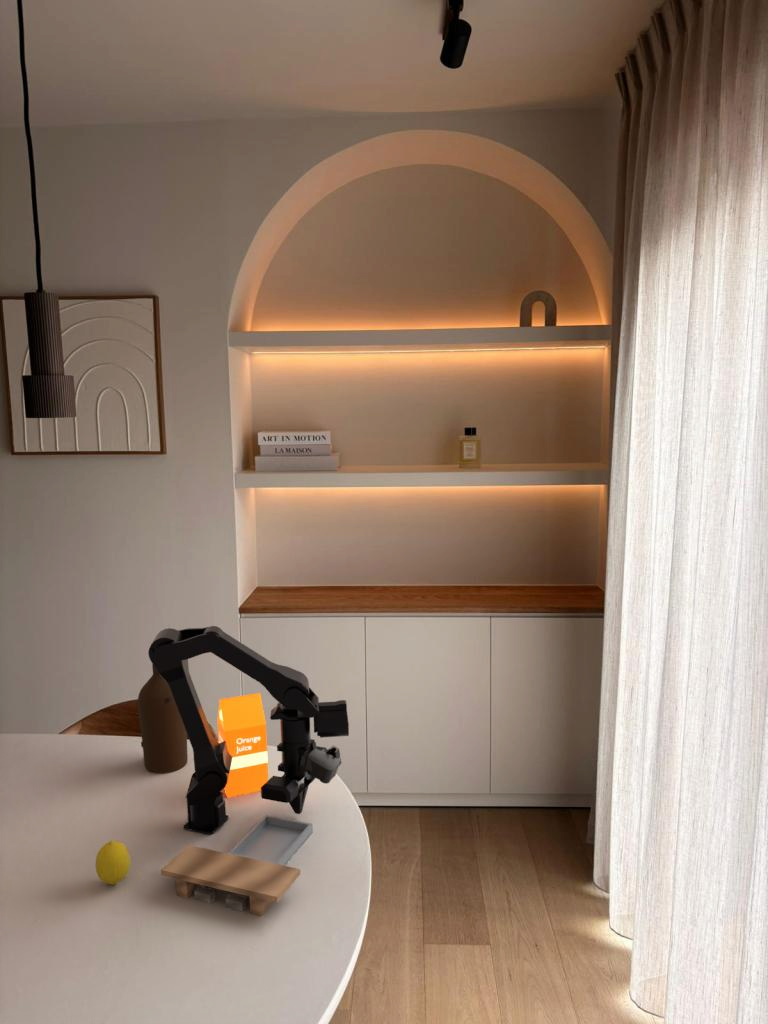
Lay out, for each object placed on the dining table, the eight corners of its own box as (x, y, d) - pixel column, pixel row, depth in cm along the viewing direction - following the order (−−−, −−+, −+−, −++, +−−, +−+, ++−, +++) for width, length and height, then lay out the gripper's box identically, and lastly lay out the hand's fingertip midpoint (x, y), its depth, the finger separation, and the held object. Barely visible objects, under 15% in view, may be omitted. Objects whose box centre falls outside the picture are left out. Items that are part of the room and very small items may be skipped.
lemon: (120, 896, 135) (117, 851, 134) (90, 892, 136) (87, 848, 135) (137, 876, 141) (134, 833, 139) (108, 873, 142) (105, 831, 141)
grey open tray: (228, 864, 144) (227, 853, 144) (266, 824, 157) (265, 814, 157) (277, 874, 141) (277, 864, 140) (312, 833, 154) (312, 823, 153)
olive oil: (200, 760, 185) (194, 654, 181) (165, 779, 176) (158, 669, 172) (166, 750, 190) (160, 647, 186) (131, 768, 181) (124, 661, 178)
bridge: (162, 891, 136) (160, 869, 136) (189, 865, 144) (188, 844, 143) (278, 920, 128) (277, 896, 128) (300, 890, 136) (299, 868, 135)
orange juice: (269, 789, 171) (265, 699, 168) (227, 798, 167) (222, 706, 164) (260, 773, 178) (256, 686, 175) (219, 781, 174) (215, 693, 171)
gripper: (312, 765, 145) (315, 845, 148) (352, 724, 162) (354, 797, 165) (257, 756, 149) (261, 834, 151) (302, 717, 166) (305, 788, 169)
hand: (298, 813), depth 159 cm, fingers closed
